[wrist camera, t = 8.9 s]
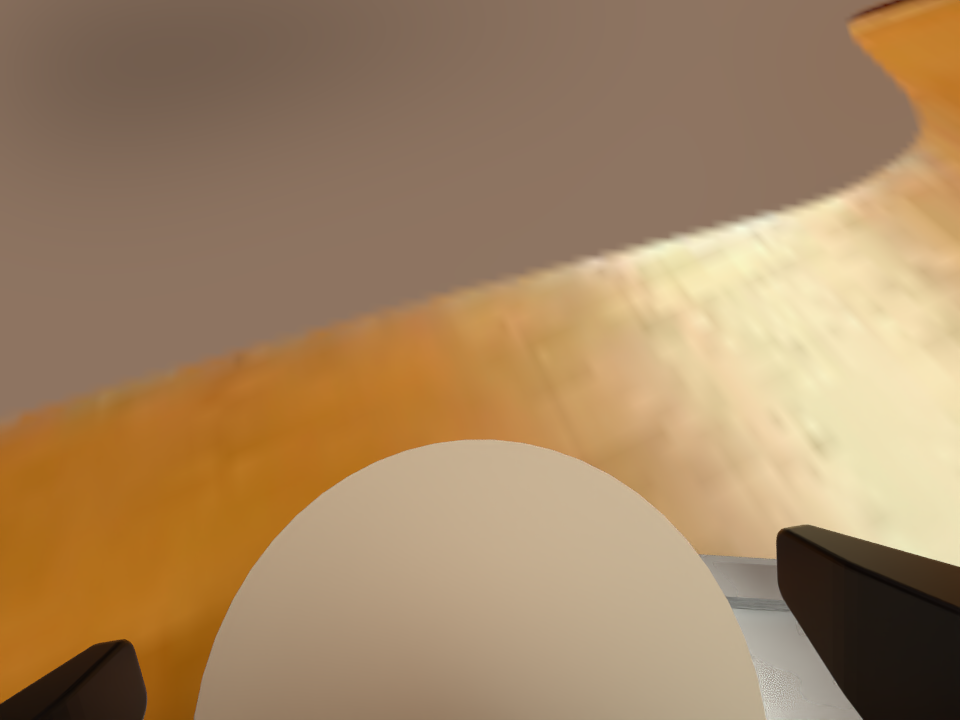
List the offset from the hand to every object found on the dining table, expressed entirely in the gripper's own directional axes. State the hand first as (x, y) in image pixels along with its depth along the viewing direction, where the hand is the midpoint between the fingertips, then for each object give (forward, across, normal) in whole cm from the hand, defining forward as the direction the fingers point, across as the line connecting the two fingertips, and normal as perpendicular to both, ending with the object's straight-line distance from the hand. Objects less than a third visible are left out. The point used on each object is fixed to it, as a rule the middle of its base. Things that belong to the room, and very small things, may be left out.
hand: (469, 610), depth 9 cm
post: (+4, 0, +6) cm, 8 cm away
